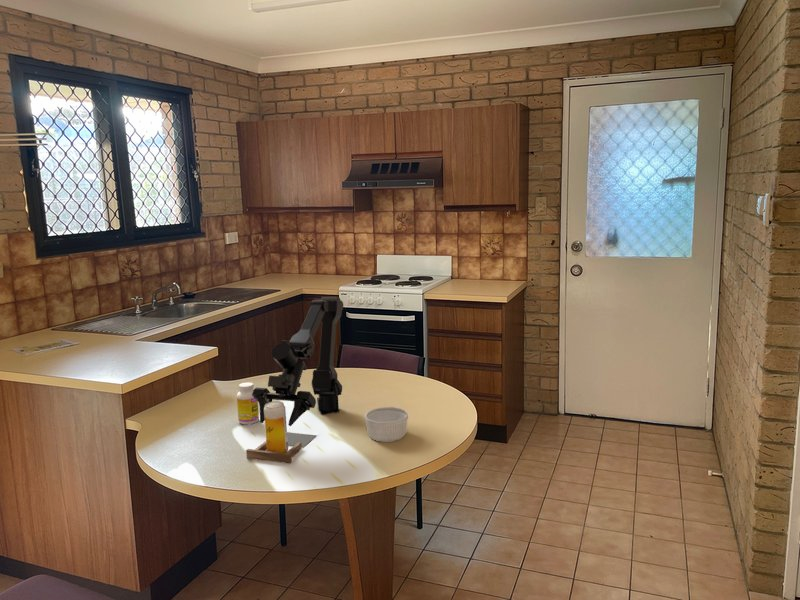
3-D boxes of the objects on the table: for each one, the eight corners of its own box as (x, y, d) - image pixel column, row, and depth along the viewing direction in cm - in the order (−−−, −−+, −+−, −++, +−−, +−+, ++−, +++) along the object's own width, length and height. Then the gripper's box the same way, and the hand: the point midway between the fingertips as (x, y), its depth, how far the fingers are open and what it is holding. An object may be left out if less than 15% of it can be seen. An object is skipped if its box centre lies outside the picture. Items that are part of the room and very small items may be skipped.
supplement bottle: (254, 425, 207) (251, 388, 205) (235, 424, 208) (232, 387, 206) (262, 418, 214) (259, 381, 211) (244, 417, 215) (241, 381, 213)
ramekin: (376, 447, 187) (376, 425, 186) (358, 432, 198) (357, 411, 197) (416, 438, 193) (415, 416, 192) (396, 424, 204) (395, 403, 203)
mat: (285, 432, 200) (285, 431, 200) (316, 435, 197) (316, 435, 197) (270, 443, 192) (270, 443, 192) (303, 447, 189) (303, 446, 189)
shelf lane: (264, 444, 192) (264, 436, 191) (306, 449, 187) (305, 441, 187) (246, 458, 182) (246, 450, 182) (290, 463, 178) (289, 455, 177)
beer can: (268, 449, 188) (264, 401, 185) (289, 448, 188) (285, 400, 186) (266, 458, 182) (262, 408, 179) (287, 456, 182) (283, 407, 180)
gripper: (252, 361, 188) (234, 409, 180) (309, 365, 182) (293, 415, 174) (268, 379, 197) (251, 425, 189) (322, 383, 191) (308, 431, 183)
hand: (275, 424), depth 183 cm, fingers open, 9 cm apart
